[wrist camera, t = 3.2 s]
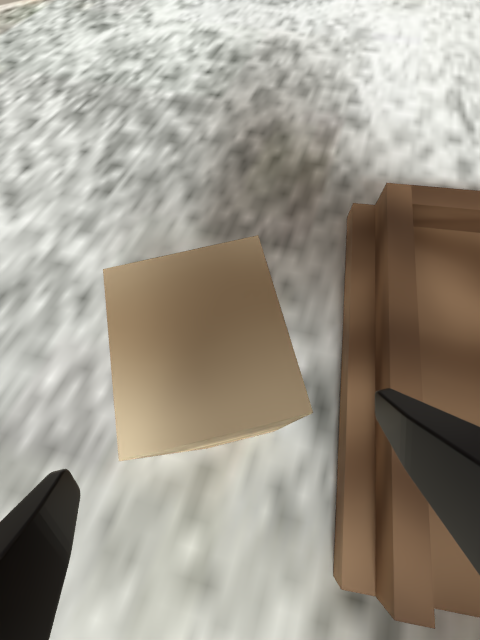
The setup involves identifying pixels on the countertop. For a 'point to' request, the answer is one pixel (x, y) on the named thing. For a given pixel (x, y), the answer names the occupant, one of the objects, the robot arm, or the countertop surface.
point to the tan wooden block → (199, 351)
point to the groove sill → (405, 392)
